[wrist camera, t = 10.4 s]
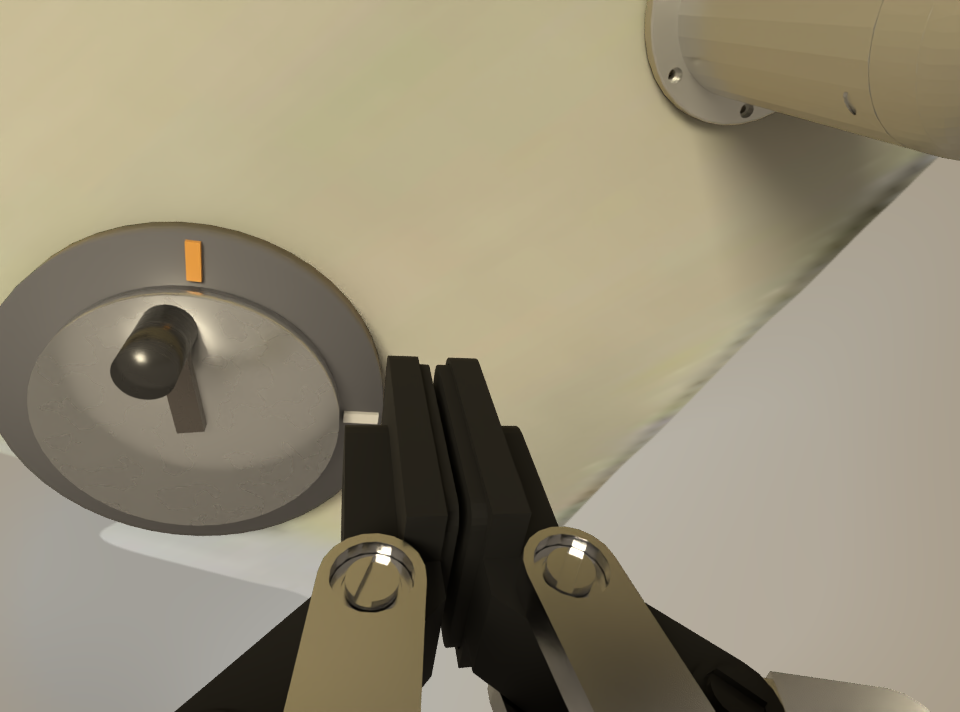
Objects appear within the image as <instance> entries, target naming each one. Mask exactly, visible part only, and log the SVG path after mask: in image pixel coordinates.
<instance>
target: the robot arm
mask: <svg viewBox="0 0 960 712" xmlns="http://www.w3.org/2000/svg"><path fill="white" fill-rule="evenodd" d="M645 42H646V48H647V55H648V60H649V63H650V66H651V69H652V72H653V74H654V77H655V80H656V81H657V83H658V85H659V86H660V88H661V90H662V91H663V93H664V95H665V96H666V97H667V98H668V99H669V100H670V101H671V102H672V103H673V104H674V105H675V106H676V107H677V108H678V109H680V110H682V111H683V112H685V113H686V114H688V115H690V116H691V117H694V118H697V119H699V120H702V121H704V122H708V123H713V124H719V125H740V124H744V123H748V122H752V121H756V120H759V119H762V118H764V117H766V116H768V115H770V114H773V113H775V112H779V113H783V114H786V115H790V116H794V117H797V118H801V119H804V120H808V121H812V122H815V123H819V124H822V125H826V126H830V127H833V128H837V129H840V130H844V131H848V132H851V133H855V134H858V135H862V136H866V137H869V138H873V139H876V140H880V141H884V142H887V143H891V144H894V145H898V146H902V147H905V148H909V149H912V150H916V151H920V152H923V153H927V154H931V155H934V156H938V157H942V158H947V159H953V160H960V0H647V6H646V12H645ZM671 70H672V75H671V77H670V78H668V76H669V72H670V71H671ZM741 108H742V109H741ZM440 628H441V630H442V637H443V642H444V646H445V647H446V648H449V647H455V649H456V655H457V662H458V667H459V668H464V667H472V671H473V673H475V674H476V675H477V676H479V677H480V678H481V679H482V680H484V681H485V682H486V683H488V694H489V700H490V704H491V707H492V710H493V712H930V711H929V710H928V709H927V708H925V707H924V706H923V705H922V704H920V703H919V702H917V701H915V700H914V699H912V698H910V697H909V696H907V695H905V694H904V693H900V692H897V691H894V690H891V689H888V688H882V687H875V686H868V685H861V684H855V683H848V682H840V681H834V680H827V679H820V678H813V677H807V676H800V675H793V674H786V673H779V672H772V671H770V672H769V674H768V675H767V677H766V678H763V677H761V676H760V674H758V673H757V672H756V671H754V670H753V669H752V668H750V667H749V666H748V665H746V664H745V663H744V662H742V661H741V660H739V659H737V658H736V657H734V656H732V655H731V654H729V653H727V652H726V651H724V650H722V649H721V648H719V647H717V646H716V645H714V644H712V643H710V642H709V641H708V640H706V639H704V638H703V637H701V636H699V635H698V634H696V633H694V632H692V631H691V630H689V629H688V628H686V627H684V626H683V625H681V624H679V623H678V622H676V621H674V620H673V619H671V618H669V617H668V616H666V615H665V614H663V613H661V612H660V611H658V610H656V609H655V608H653V607H651V606H650V605H648V604H646V603H645V602H644V601H643V599H642V597H641V596H640V594H639V593H638V591H637V590H636V588H635V587H634V585H633V584H632V582H631V580H630V579H629V578H628V576H627V574H626V573H625V571H624V570H623V568H622V567H621V565H620V564H619V562H618V561H617V559H616V558H615V556H614V555H613V553H611V551H610V550H609V549H608V548H607V547H606V545H605V544H603V543H602V542H601V541H599V540H598V539H597V538H595V537H594V536H592V535H590V534H588V533H586V532H584V531H581V530H579V529H574V528H570V527H565V526H564V527H558V524H557V521H556V519H555V516H554V514H553V511H552V509H551V506H550V504H549V501H548V498H547V496H546V493H545V491H544V488H543V486H542V483H541V481H540V478H539V475H538V473H537V470H536V468H535V465H534V463H533V460H532V458H531V455H530V453H529V450H528V447H527V445H526V442H525V440H524V437H523V435H522V432H521V431H520V429H519V428H518V427H517V426H501V424H500V421H499V419H498V416H497V413H496V410H495V407H494V404H493V401H492V399H491V396H490V393H489V390H488V387H487V384H486V381H485V379H484V376H483V373H482V370H481V367H480V364H479V362H478V360H477V359H471V358H448V359H447V361H446V365H437V366H436V369H435V375H434V383H433V381H432V376H431V372H430V367H429V365H424V364H419V360H418V357H412V356H388V358H387V366H386V377H385V389H384V401H383V413H382V425H345V429H344V449H343V474H342V516H341V543H339V544H337V545H336V546H334V547H333V548H332V549H331V550H330V551H329V552H328V553H327V555H326V556H325V557H324V558H323V560H322V562H321V565H320V567H319V569H318V571H317V576H316V580H315V584H314V588H313V592H312V596H311V597H310V598H309V599H308V600H307V601H306V602H304V603H303V604H302V605H301V606H300V607H298V608H297V609H296V610H295V611H294V612H292V613H291V614H290V615H289V616H288V617H286V618H285V619H284V620H283V621H282V622H280V623H279V624H278V625H277V626H276V627H275V628H273V629H272V630H271V631H270V632H269V633H267V634H266V635H265V636H264V637H263V638H261V639H260V640H259V641H258V642H257V643H256V644H254V645H253V646H252V647H251V648H250V649H249V650H247V651H246V652H245V653H244V654H243V655H241V656H240V657H239V658H238V659H237V660H235V661H234V662H233V663H232V664H231V665H230V666H228V667H227V668H226V669H225V670H224V671H222V672H221V673H220V674H219V675H218V676H217V677H215V678H214V679H213V680H212V681H211V682H209V683H208V684H207V685H206V686H205V687H203V688H202V689H201V690H200V691H199V692H198V693H196V694H195V695H194V696H193V697H192V698H190V699H189V700H188V701H187V702H186V703H184V704H183V705H182V706H181V707H180V708H179V709H177V710H176V711H175V712H421V692H422V687H423V686H424V684H425V683H426V682H427V681H428V680H429V678H430V677H431V675H432V670H433V665H434V660H435V654H436V649H437V644H438V638H439V633H440Z"/></svg>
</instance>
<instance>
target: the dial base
mask: <svg viewBox="0 0 960 712" xmlns="http://www.w3.org/2000/svg"><path fill="white" fill-rule="evenodd" d="M164 285H182V286H196V287H203V288H210V289H215V290H219V291H223V292H227V293H231V294H235V295H238V296H240V297H243V298H246V299H248V300H251V301H254V302H256V303H258V304H260V305H262V306H264V307H266V308H268V309H270V310H272V311H274V312H275V313H277V314H278V315H280V316H281V317H283V318H284V319H286V320H288V321H289V322H290V323H291V324H293V325H294V326H295V327H296V328H297V329H299V330H300V331H301V332H302V333H303V334H304V335H305V336H306V337H307V338H308V339H309V340H310V341H311V342H312V343H313V344H314V345H315V347H316V348H317V349H318V351H319V352H320V354H321V355H322V356H323V358H324V359H325V361H326V363H327V365H328V367H329V369H330V371H331V372H332V375H333V378H334V381H335V384H336V387H337V392H338V397H339V432H338V438H337V443H336V446H335V449H334V452H333V455H332V457H331V459H330V461H329V463H328V464H327V466H326V468H325V469H324V471H323V472H322V473H321V475H320V476H319V477H318V479H317V480H316V481H315V482H314V483H313V484H312V485H311V486H310V487H309V488H308V489H307V490H306V491H304V492H303V493H302V494H300V495H299V496H298V497H297V498H295V499H294V500H292V501H290V502H289V503H287V504H285V505H284V506H282V507H280V508H278V509H275V510H273V511H271V512H269V513H266V514H263V515H260V516H258V517H255V518H252V519H247V520H243V521H239V522H234V523H227V524H220V525H204V526H195V525H177V524H169V523H162V522H157V521H152V520H147V519H144V518H140V517H137V516H134V515H130V514H127V513H125V512H122V511H120V510H117V509H115V508H112V507H110V506H108V505H106V504H104V503H102V502H100V501H98V500H96V499H94V498H93V497H91V496H90V495H88V494H87V493H85V492H84V491H82V490H80V489H79V488H78V487H76V486H75V485H74V484H73V483H72V482H70V481H69V480H68V479H67V478H65V477H64V476H63V475H62V474H61V473H60V471H59V470H58V469H57V468H56V467H55V466H54V465H53V464H52V463H51V461H50V460H49V459H48V457H47V456H46V455H45V453H44V452H43V451H42V449H41V447H40V445H39V443H38V441H37V439H36V437H35V436H34V433H33V430H32V427H31V424H30V421H29V415H28V408H27V392H28V385H29V380H30V376H31V372H32V370H33V368H34V366H35V364H36V362H37V359H38V357H39V356H40V354H41V353H42V352H43V350H44V349H45V347H46V346H47V345H48V343H49V342H50V341H51V340H52V339H53V337H54V336H55V335H56V334H57V333H58V332H59V330H60V329H61V328H62V327H63V326H64V325H66V324H67V323H68V322H69V321H70V320H71V319H72V318H73V317H74V316H76V315H77V314H78V313H80V312H81V311H83V310H84V309H86V308H87V307H89V306H91V305H93V304H95V303H97V302H99V301H101V300H103V299H105V298H107V297H110V296H113V295H116V294H119V293H122V292H125V291H129V290H134V289H139V288H144V287H152V286H164ZM382 412H383V386H382V374H381V368H380V363H379V358H378V353H377V350H376V347H375V345H374V342H373V339H372V337H371V334H370V332H369V330H368V329H367V327H366V325H365V323H364V321H363V319H362V318H361V316H360V315H359V313H358V312H357V310H356V309H355V308H354V306H353V305H352V304H351V302H350V301H349V300H348V298H347V297H346V296H345V295H344V294H343V293H342V292H341V291H340V290H339V289H338V288H337V287H336V286H335V285H334V284H333V283H332V282H331V281H330V280H329V279H327V278H326V277H325V276H324V275H323V274H321V273H320V272H319V271H318V270H316V269H315V268H314V267H313V266H311V265H310V264H308V263H306V262H305V261H303V260H302V259H300V258H298V257H297V256H295V255H294V254H292V253H290V252H288V251H286V250H284V249H282V248H280V247H278V246H276V245H274V244H272V243H270V242H267V241H265V240H262V239H259V238H257V237H254V236H251V235H248V234H245V233H242V232H239V231H235V230H231V229H226V228H222V227H217V226H213V225H206V224H196V223H187V222H150V223H142V224H135V225H127V226H122V227H118V228H114V229H110V230H107V231H103V232H99V233H96V234H94V235H91V236H89V237H86V238H84V239H82V240H79V241H77V242H74V243H72V244H71V245H69V246H67V247H66V248H64V249H62V250H61V251H59V252H57V253H56V254H54V255H52V256H51V257H50V258H48V259H47V260H46V261H45V262H44V263H43V264H41V265H40V266H39V267H38V268H37V269H36V270H34V271H33V272H32V273H31V274H30V275H29V276H28V277H26V278H25V279H24V280H23V281H22V282H21V283H20V284H18V285H17V286H16V287H15V288H14V290H13V291H12V292H11V293H10V295H9V296H8V297H7V298H6V299H5V301H4V302H3V303H2V304H1V306H0V434H1V435H2V437H3V438H4V440H5V441H6V443H7V444H8V446H9V447H10V449H11V450H12V451H13V452H14V454H15V455H16V456H17V457H18V458H19V459H20V460H21V461H22V462H23V464H24V465H25V466H26V467H27V468H28V469H29V470H30V471H31V472H33V473H34V474H35V475H36V476H37V477H38V478H39V479H40V480H42V481H43V482H44V483H45V484H47V485H48V486H49V487H51V488H52V489H54V490H55V491H57V492H58V493H60V494H61V495H62V496H64V497H66V498H67V499H69V500H71V501H73V502H74V503H76V504H78V505H80V506H82V507H83V508H85V509H88V510H90V511H92V512H94V513H97V514H99V515H101V516H104V517H106V518H109V519H112V520H115V521H118V522H121V523H124V524H126V525H130V526H134V527H138V528H142V529H146V530H151V531H157V532H163V533H170V534H179V535H193V536H212V535H228V534H238V533H244V532H249V531H255V530H260V529H264V528H267V527H271V526H274V525H278V524H281V523H284V522H286V521H289V520H291V519H294V518H296V517H299V516H301V515H303V514H305V513H307V512H309V511H310V510H312V509H314V508H316V507H318V506H319V505H321V504H322V503H324V502H325V501H327V500H328V499H330V498H331V497H333V496H334V495H335V494H336V493H337V492H339V491H340V490H341V489H342V474H343V449H344V429H345V425H381V420H382Z"/></svg>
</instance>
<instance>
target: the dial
mask: <svg viewBox="0 0 960 712" xmlns="http://www.w3.org/2000/svg"><path fill="white" fill-rule="evenodd" d="M27 408H28V415H29V421H30V424H31V427H32V430H33V433H34V436H35V437H36V439H37V441H38V443H39V445H40V447H41V449H42V451H43V452H44V453H45V455H46V456H47V457H48V459H49V460H50V461H51V463H52V464H53V465H54V466H55V467H56V468H57V469H58V470H59V471H60V473H61V474H62V475H63V476H64V477H65V478H67V479H68V480H69V481H70V482H72V483H73V484H74V485H75V486H76V487H78V488H79V489H80V490H82V491H84V492H85V493H87V494H88V495H90V496H91V497H93V498H94V499H96V500H98V501H100V502H102V503H104V504H106V505H108V506H110V507H112V508H115V509H117V510H120V511H122V512H125V513H127V514H130V515H134V516H137V517H140V518H144V519H147V520H152V521H157V522H162V523H169V524H177V525H195V526H204V525H220V524H227V523H234V522H239V521H243V520H247V519H252V518H255V517H258V516H260V515H263V514H266V513H269V512H271V511H273V510H275V509H278V508H280V507H282V506H284V505H285V504H287V503H289V502H290V501H292V500H294V499H295V498H297V497H298V496H299V495H300V494H302V493H303V492H304V491H306V490H307V489H308V488H309V487H310V486H311V485H312V484H313V483H314V482H315V481H316V480H317V479H318V477H319V476H320V475H321V473H322V472H323V471H324V469H325V468H326V466H327V464H328V463H329V461H330V459H331V457H332V455H333V452H334V449H335V446H336V443H337V438H338V432H339V397H338V392H337V387H336V384H335V381H334V378H333V375H332V372H331V371H330V369H329V367H328V365H327V363H326V361H325V359H324V358H323V356H322V355H321V354H320V352H319V351H318V349H317V348H316V347H315V345H314V344H313V343H312V342H311V341H310V340H309V339H308V338H307V337H306V336H305V335H304V334H303V333H302V332H301V331H300V330H299V329H297V328H296V327H295V326H294V325H293V324H291V323H290V322H289V321H288V320H286V319H284V318H283V317H281V316H280V315H278V314H277V313H275V312H274V311H272V310H270V309H268V308H266V307H264V306H262V305H260V304H258V303H256V302H254V301H251V300H248V299H246V298H243V297H240V296H238V295H235V294H231V293H227V292H223V291H219V290H215V289H210V288H203V287H196V286H182V285H164V286H152V287H144V288H139V289H134V290H129V291H125V292H122V293H119V294H116V295H113V296H110V297H107V298H105V299H103V300H101V301H99V302H97V303H95V304H93V305H91V306H89V307H87V308H86V309H84V310H83V311H81V312H80V313H78V314H77V315H76V316H74V317H73V318H72V319H71V320H70V321H69V322H68V323H67V324H66V325H64V326H63V327H62V328H61V329H60V330H59V332H58V333H57V334H56V335H55V336H54V337H53V339H52V340H51V341H50V342H49V343H48V345H47V346H46V347H45V349H44V350H43V352H42V353H41V354H40V356H39V357H38V359H37V362H36V364H35V366H34V368H33V370H32V372H31V376H30V380H29V385H28V392H27Z"/></svg>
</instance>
